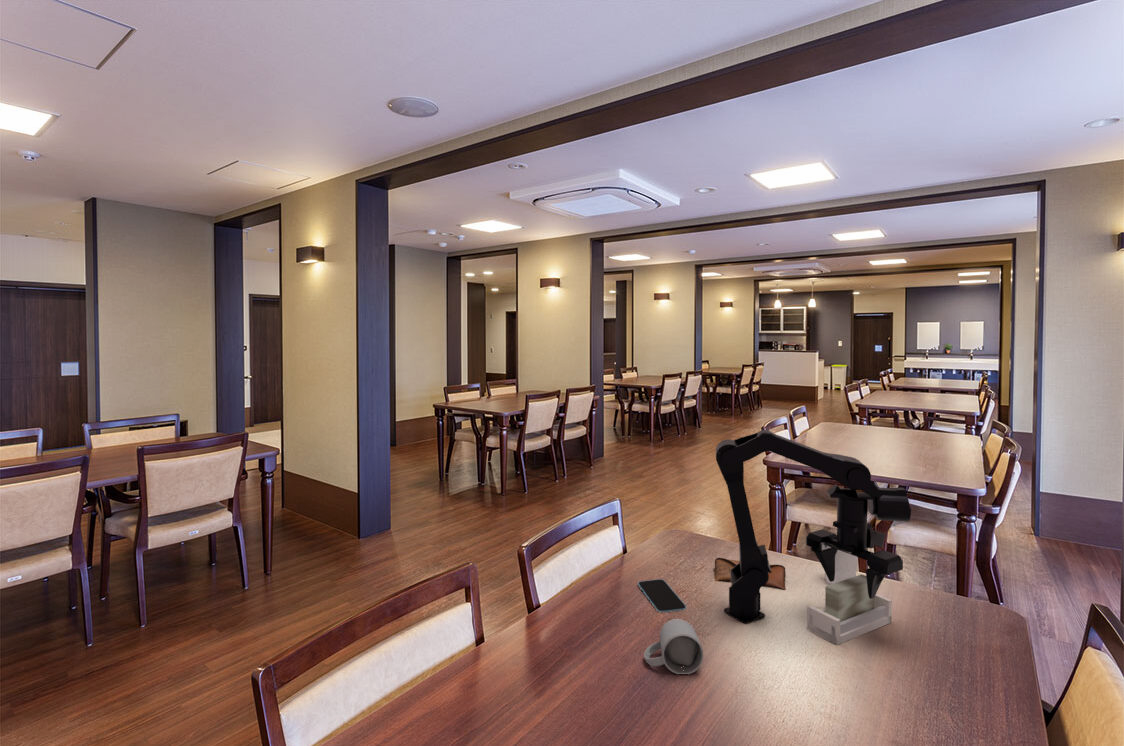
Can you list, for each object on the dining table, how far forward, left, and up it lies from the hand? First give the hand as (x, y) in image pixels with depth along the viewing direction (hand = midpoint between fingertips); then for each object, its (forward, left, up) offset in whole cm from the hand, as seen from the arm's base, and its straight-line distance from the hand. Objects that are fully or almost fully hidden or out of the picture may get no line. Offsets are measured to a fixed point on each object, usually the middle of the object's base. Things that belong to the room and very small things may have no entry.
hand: (851, 589), depth 117 cm
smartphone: (-27, +31, -9) cm, 42 cm away
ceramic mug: (-42, +8, -8) cm, 43 cm away
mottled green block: (0, 0, -7) cm, 7 cm away
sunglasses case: (-1, +27, -9) cm, 29 cm away
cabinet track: (0, 0, -8) cm, 8 cm away
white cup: (+17, +15, -8) cm, 24 cm away
